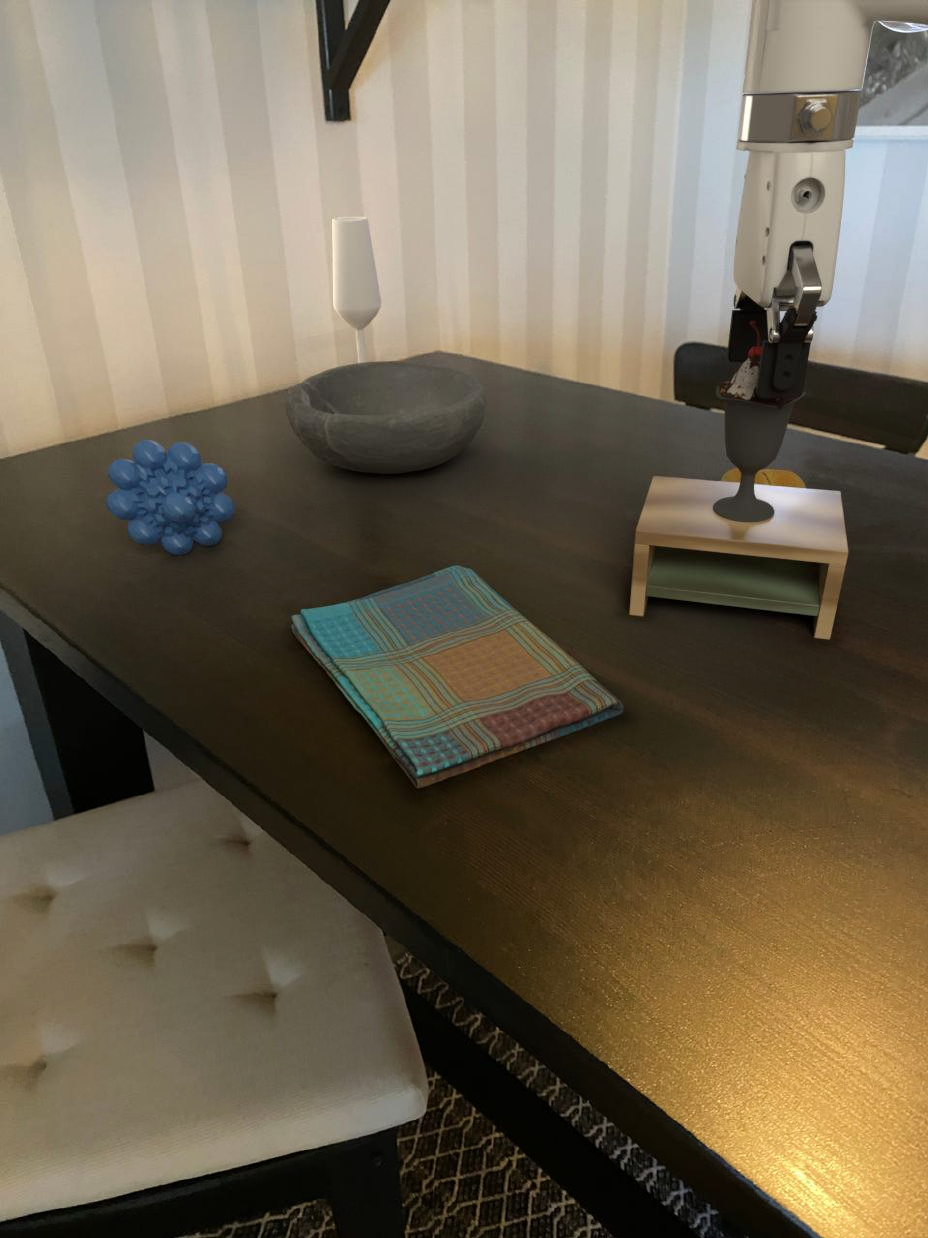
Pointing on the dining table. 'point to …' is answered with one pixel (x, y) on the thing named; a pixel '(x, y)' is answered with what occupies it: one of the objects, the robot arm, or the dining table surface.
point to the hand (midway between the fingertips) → (761, 377)
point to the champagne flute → (354, 276)
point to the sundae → (751, 436)
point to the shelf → (741, 550)
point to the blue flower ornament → (170, 496)
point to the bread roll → (768, 478)
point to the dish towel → (451, 673)
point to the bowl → (386, 415)
